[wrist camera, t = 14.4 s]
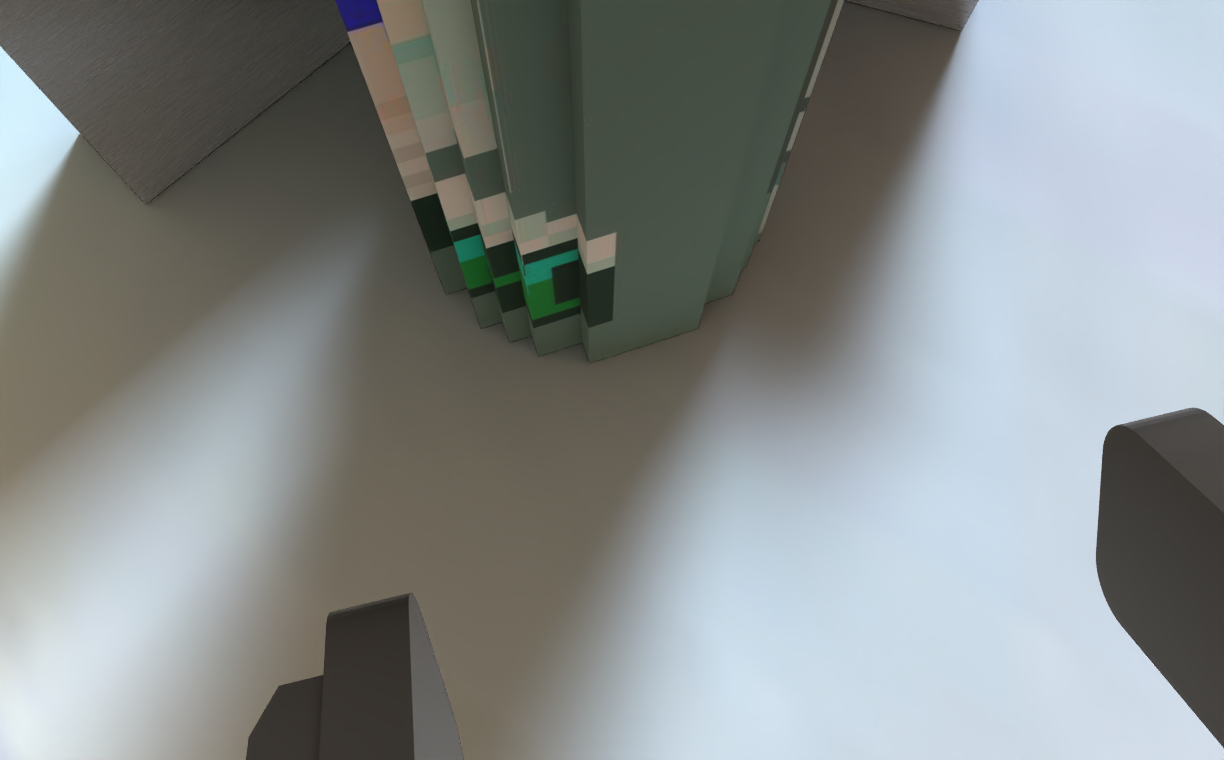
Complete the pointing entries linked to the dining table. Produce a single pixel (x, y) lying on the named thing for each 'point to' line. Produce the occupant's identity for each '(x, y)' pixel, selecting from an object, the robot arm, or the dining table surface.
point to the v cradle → (201, 68)
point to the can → (591, 149)
